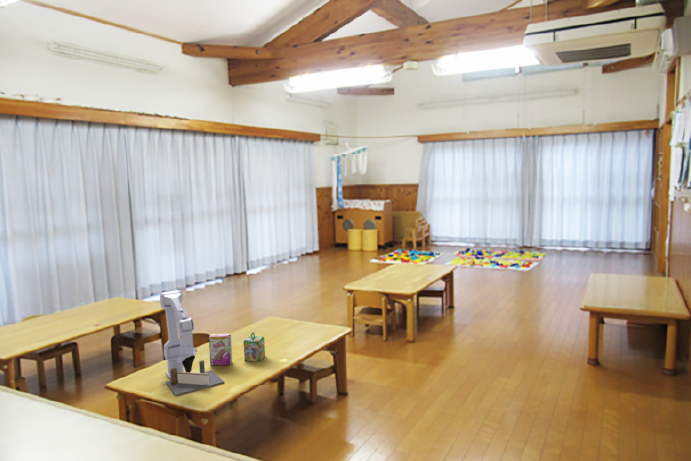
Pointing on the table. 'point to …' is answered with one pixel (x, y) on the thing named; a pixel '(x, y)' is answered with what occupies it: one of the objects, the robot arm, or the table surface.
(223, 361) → the candy bar box
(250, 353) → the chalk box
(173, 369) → the gate posts
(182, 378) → the gate
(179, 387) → the mat
